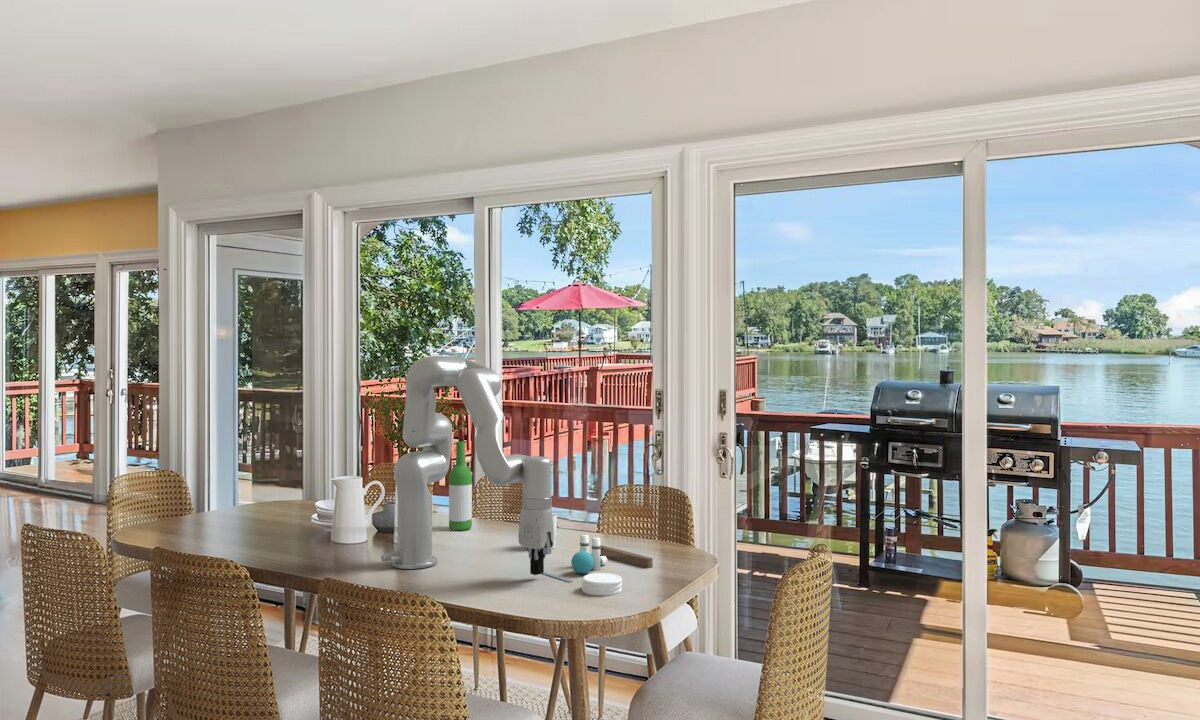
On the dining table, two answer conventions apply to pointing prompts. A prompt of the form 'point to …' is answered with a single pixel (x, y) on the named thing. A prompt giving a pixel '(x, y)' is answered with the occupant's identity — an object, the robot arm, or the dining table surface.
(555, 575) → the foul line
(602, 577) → the coaster
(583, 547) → the pin back left
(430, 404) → the robot arm
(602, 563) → the pin front
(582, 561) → the ball
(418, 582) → the dining table surface
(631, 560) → the backstop
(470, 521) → the wine bottle
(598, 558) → the pin back right
